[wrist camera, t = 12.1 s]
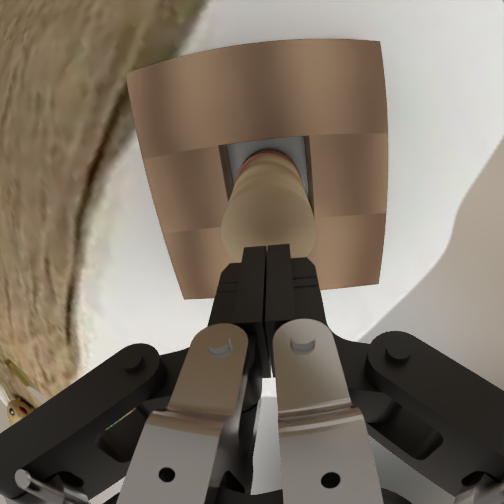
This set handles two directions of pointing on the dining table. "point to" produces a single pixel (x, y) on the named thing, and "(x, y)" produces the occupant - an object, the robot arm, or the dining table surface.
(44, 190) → the dining table surface
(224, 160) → the board
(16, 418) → the tan toy head
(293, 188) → the peg
